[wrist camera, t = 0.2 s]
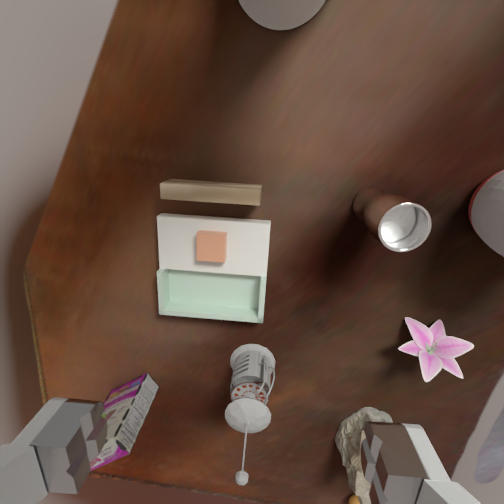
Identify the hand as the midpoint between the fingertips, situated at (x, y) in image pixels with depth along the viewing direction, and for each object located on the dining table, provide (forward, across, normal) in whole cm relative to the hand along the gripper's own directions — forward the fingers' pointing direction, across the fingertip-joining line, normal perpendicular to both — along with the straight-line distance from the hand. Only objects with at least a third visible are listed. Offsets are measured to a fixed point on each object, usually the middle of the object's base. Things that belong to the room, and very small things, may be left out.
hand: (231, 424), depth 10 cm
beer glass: (+47, -18, +2) cm, 51 cm away
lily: (+48, -32, +27) cm, 64 cm away
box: (+47, +9, +20) cm, 52 cm away
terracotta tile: (+45, +9, +10) cm, 47 cm away
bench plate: (+47, +9, +10) cm, 49 cm away
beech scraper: (+47, +9, 0) cm, 48 cm away
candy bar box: (+47, +28, +46) cm, 72 cm away
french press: (+47, +1, +36) cm, 60 cm away
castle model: (+48, -27, +56) cm, 78 cm away
